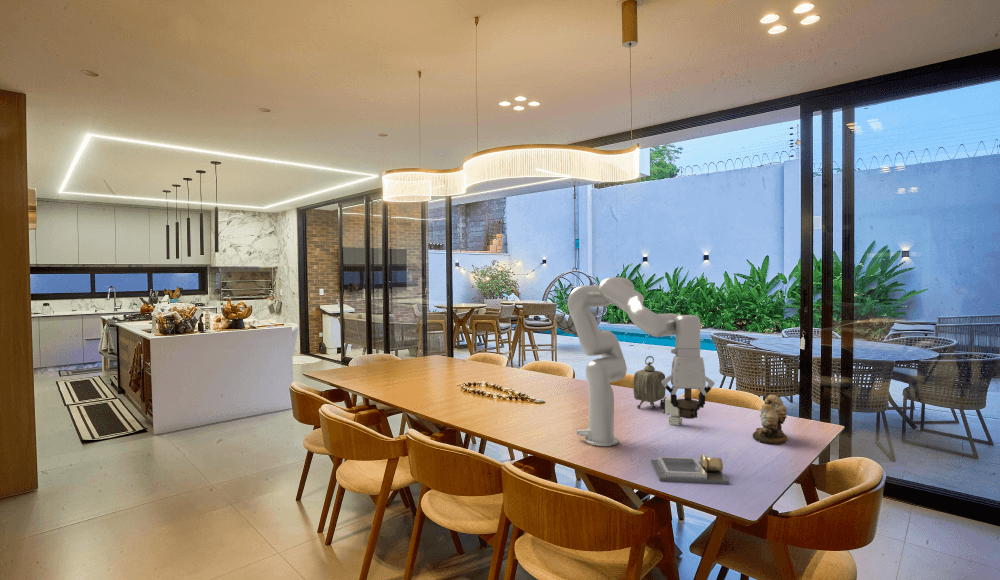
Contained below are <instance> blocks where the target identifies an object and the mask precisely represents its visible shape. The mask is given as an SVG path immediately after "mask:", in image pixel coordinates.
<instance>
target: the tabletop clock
mask: <svg viewBox="0 0 1000 580" xmlns="http://www.w3.org/2000/svg"><path fill="white" fill-rule="evenodd" d="M649 358H651V359H652V361H648V363H647V360H648V359H649ZM654 360H655V359H654V357H653V356H652V355H648V356H647V357H645V360H644V362H645V364H646V365H645V366H644V368H643V369H640V370H637V371H636V372H634V375H633V387H632V388H633V398H634V399H635V400H637V401H640V402H639V404H638V405H637V409H640V408H642V407H641V406H642V404H643V403H645V402H647V403H649V404H650V405H651V407H652V409H653V408H654V409H656V407H657V406H656V405H655V404H654V403H655V402H658V401H661V400H664V398H665V397H666V391H667V389H666V388H665V387H664V385H663V384H662V382H661V381H662V380H664V379H665V378H666V374H665V373H664V372H662V371H660V370H659V371H658V370H656V368H655V367H654V366H653V364H654Z"/></svg>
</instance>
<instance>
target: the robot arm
mask: <svg viewBox="0 0 1000 580" xmlns="http://www.w3.org/2000/svg"><path fill="white" fill-rule="evenodd" d="M644 298H645V297H644V296H643V294H642V293H640V292H639V291H638V290H635V286H634V284H633V282H632V281H631V279H628V278H626V277H616V276H615V277H613V276H612V277H606V278H605V279H603V280H602V281H600V284H599V285H581V286H577V287H575V288H573V290H572V291H571V292H570V294H569V296H568V299H567V310H568V312H569V315H570V317H571V319H572V322H573V324H574V327H575V331H576V334H577V337H578V340H579V343H580V347H581V350H582V352H583V353H584V354H585V355H586V356H589V357H595V356H596V357H597V356H601V358H599V357H598V358H595V359H592V360H590V361H589V362H588V364H587V365H586V368H585V377H586V382H587V391H588V392H587V393H588V398H587V399H588V426H587V428H584V430H583V429H576V435H577V436H579V437H584V442H585V443H586V444H588V445H591V446H595V445H596V446H597V447H612V445H613V446H616V445H617V444H619V438H618V437H616V436H615V406H614V405H615V396H614V391H613V387H612V384H611V383H612V382H618V381H620V380H622V379H624V378H625V377H626V375H627V370H628V368H627V363H626V360H625V357H624V353H623V351H622V348H621V345H620V343H619V339H618V338H617V337H616V334H615V333H614V332H612V331H610V330H605V329H603V330H602V329H601V330H600V328H599V325H598V322H597V319H596V318H595V316H594V314H593V312H591V311H590V310H589V308H597V307H598V308H602V307H606V306H610V305H614V306H616V307H617V308H619V309H620V310H621V311H622V312H624V313H626V314H627V316H628V318H629V319H630V320H631V321H630V322H632V323H633V325H634V326H636V327H637V328H639V329H640V330H641V331H643V332H644V333H646V334H647V335H649V336H651V337H655V338H660V337H670V336H675V347H674V348H673V349H670V351H671V352H670V353H671V354H673V355H675V356H673V358H672V363H671V371H670V372H671V373H670V375H668V376H667V377H665V379H664V380H662V381H661V382H662V384H663V385H664V387H665V388H666V391H667V392H669V394H670V397H671V404H672V405H673V406H674V407H677V398H678V396H677V392H678V390H680V389H681V390H682V389H684V390H685V389H691V390H695V389H696V390H698V391H699V393H698V401H699V402H700V404H699V405H700V406H701V408H702V409H704V408H705V407H704V406H705V405H706V396H707V394H708V393H710V391H711V390H712V388H713V387H714V386H715V381H713V380H712V379H710V378H709V377H707V376H706V369H705V362H704V358H703V357H701V319H700V317H699V316H698V315H693V314H678V313H669V312H668V313H656V312H654V311H652V310H651V309H649V308H648V307H646V306H645V305H644V300H645V299H644ZM669 382H670V383H671V385H672V386H671V387H670V386H669V384H668V383H669ZM706 384H707V385H706ZM701 408H700V409H701ZM596 446H595V447H596Z"/></svg>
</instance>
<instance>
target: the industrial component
mask: <svg viewBox="0 0 1000 580" xmlns="http://www.w3.org/2000/svg"><path fill="white" fill-rule="evenodd" d="M683 395H684V398H683V399H678V400H677V407H676V408H678V416H679V417H680V418H682V419H691V420H692V419H693V420H694V419H698V410H700V409H701V406H700V405H699V404H700V402H699V400H696V399H692V389H684V394H683Z"/></svg>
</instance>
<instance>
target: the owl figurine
mask: <svg viewBox="0 0 1000 580" xmlns="http://www.w3.org/2000/svg"><path fill="white" fill-rule="evenodd" d="M787 411H788V409H787V407H786V405H784V401H783V400H782V398H781V397H780V396H778V395H775V394H769V395H768V396H767V397H766V398H765V400H764V404H762V405H761V408H760V414H759V418H760V421H761V426H762V427H757V428H756V429H755V431H753V433H752V438H753V439H754V440H755V441H756V442H759V443H762V444H766V445H770V444H771V446H772V445H774V446H781V445H784V444H786V443H787V442H788V436H787V435H786V434H785V432H784V431H783V430H782V428H783V427H782V425H784V422H785V421H786V419H787V417H788V416H787V413H788V412H787Z"/></svg>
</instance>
